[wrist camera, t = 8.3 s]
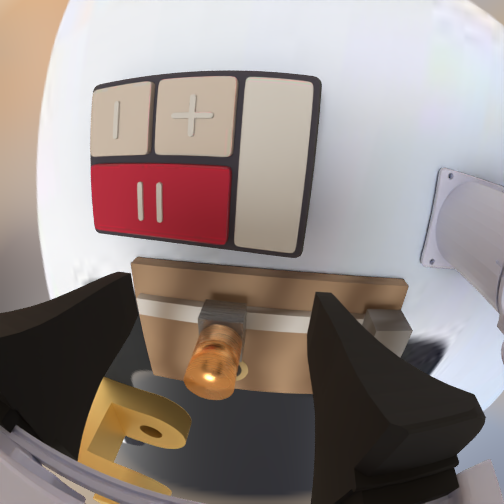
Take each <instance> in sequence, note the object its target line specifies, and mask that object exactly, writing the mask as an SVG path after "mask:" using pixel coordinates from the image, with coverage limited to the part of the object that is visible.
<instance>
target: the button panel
mask: <svg viewBox="0 0 504 504" xmlns="http://www.w3.org/2000/svg"><path fill="white" fill-rule="evenodd" d="M321 87H322V84H321V81H320V79H318V78H317V77H314V76H308V75H299V74H289V73H278V72H262V71H197V72H182V73H170V74H161V75H152V76H145V77H138V78H132V79H126V80H120V81H115V82H110V83H105V84H100V85H98V86H96V87H95V88H94V91H93V97H92V112H91V137H90V152H91V190H92V204H93V216H94V225H95V229H96V231H97V232H98V233H103V234H110V235H118V236H126V237H134V238H141V239H149V240H157V241H165V242H173V243H180V244H188V245H196V246H204V247H212V248H219V249H227V250H235V251H243V252H251V253H259V254H266V255H274V256H282V257H290V258H297V257H299V256H300V255H301V254H302V251H303V245H304V238H305V231H306V225H307V218H308V210H309V203H310V196H311V188H312V180H313V171H314V163H315V154H316V144H317V135H318V124H319V113H320V101H321Z"/></svg>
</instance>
